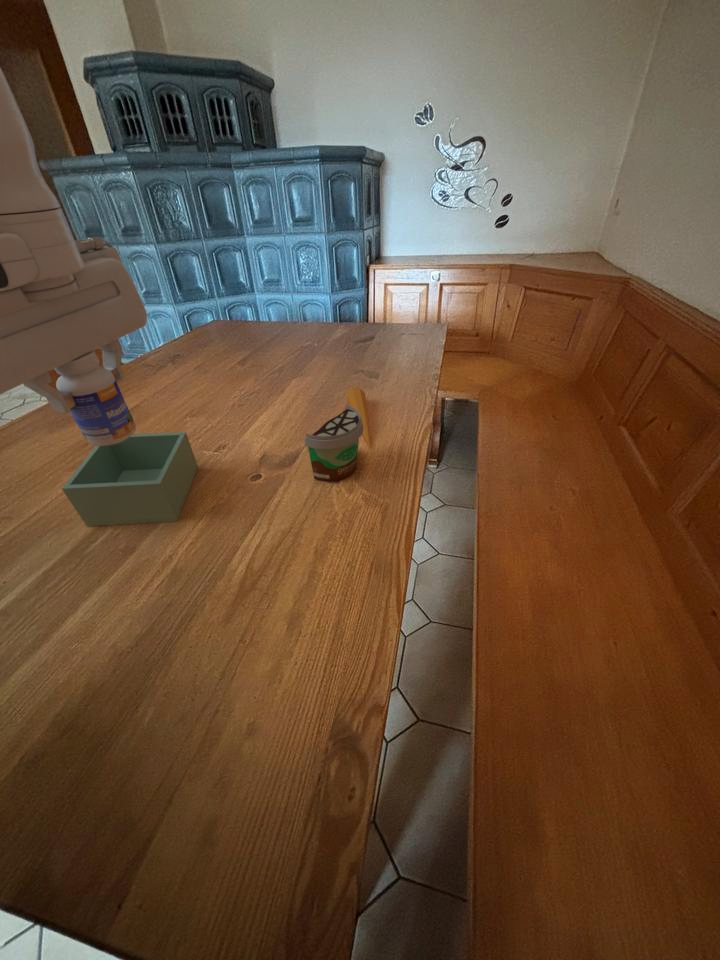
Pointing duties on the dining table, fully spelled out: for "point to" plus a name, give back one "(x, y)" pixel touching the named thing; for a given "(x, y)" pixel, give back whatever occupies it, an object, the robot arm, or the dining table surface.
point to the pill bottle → (96, 401)
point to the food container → (335, 446)
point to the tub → (134, 480)
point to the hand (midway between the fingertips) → (92, 395)
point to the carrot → (360, 409)
